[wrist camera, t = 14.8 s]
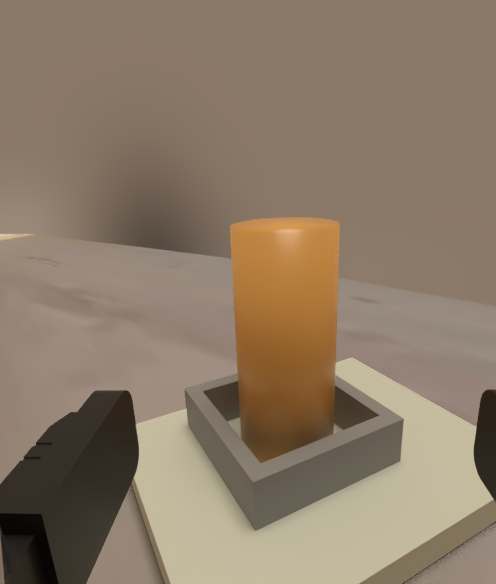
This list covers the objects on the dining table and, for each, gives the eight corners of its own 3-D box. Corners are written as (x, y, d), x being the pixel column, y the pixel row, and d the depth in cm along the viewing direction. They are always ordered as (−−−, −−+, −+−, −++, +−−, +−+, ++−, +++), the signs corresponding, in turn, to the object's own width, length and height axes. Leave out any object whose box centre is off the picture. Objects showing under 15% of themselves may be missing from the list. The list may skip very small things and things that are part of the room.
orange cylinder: (298, 407, 25) (298, 214, 22) (353, 454, 21) (363, 224, 18) (226, 432, 23) (213, 224, 20) (271, 490, 19) (264, 237, 15)
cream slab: (351, 374, 32) (353, 328, 31) (541, 491, 20) (555, 422, 19) (120, 451, 24) (111, 392, 23) (207, 713, 12) (197, 620, 11)
